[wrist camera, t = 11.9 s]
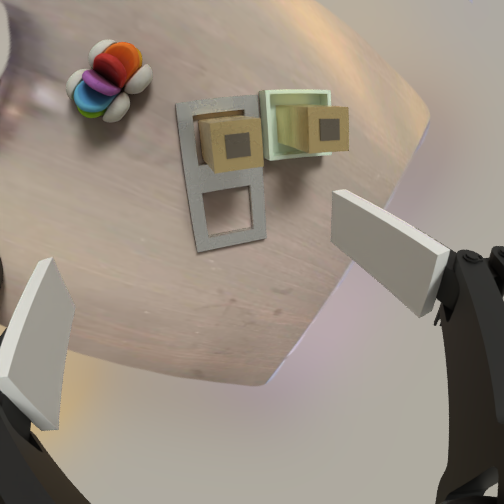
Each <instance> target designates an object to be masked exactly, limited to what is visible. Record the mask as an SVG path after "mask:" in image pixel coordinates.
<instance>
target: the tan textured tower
mask: <svg viewBox="0 0 504 504" xmlns="http://www.w3.org/2000/svg"><path fill="white" fill-rule="evenodd" d="M198 124H199V133H200V141H201V150H202V158H203V160H204V161H205V162H206V163H207V165H208V166H209V167H210V168H211V169H212V171H213V172H214V173H215V174H216V173H223V172H229V171H236V170H242V169H249V168H257V167H264V160H263V144H262V130H261V118H256V117H248V116H240V115H235V116H226V117H217V118H209V119H202V120H198Z"/></svg>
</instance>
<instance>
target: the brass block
mask: <svg viewBox="0 0 504 504" xmlns="http://www.w3.org/2000/svg"><path fill="white" fill-rule="evenodd" d="M276 121H277V138H278V143H281V144H284V145H287V146H290V147H293V148H296V149H298V150H301V151H304V152H306V153H309V154H311V153H323V152H337V151H349V114H348V107H340V106H328V105H312V104H302V105H276Z"/></svg>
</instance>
